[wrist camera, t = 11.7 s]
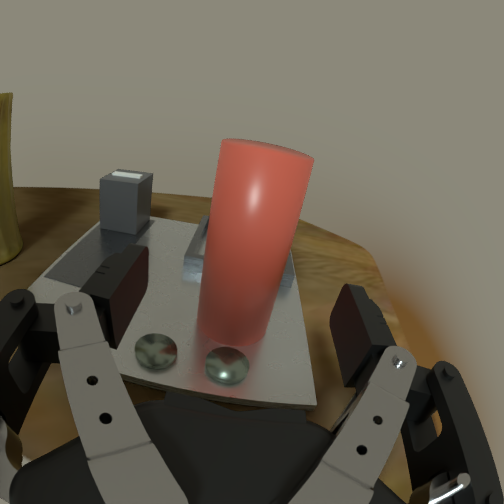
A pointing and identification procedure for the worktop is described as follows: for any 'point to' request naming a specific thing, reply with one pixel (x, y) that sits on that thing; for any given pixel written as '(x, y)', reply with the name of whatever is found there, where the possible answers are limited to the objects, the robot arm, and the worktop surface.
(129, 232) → the breaker
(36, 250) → the worktop surface
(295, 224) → the red tapered cylinder
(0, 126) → the vase
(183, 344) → the panel
